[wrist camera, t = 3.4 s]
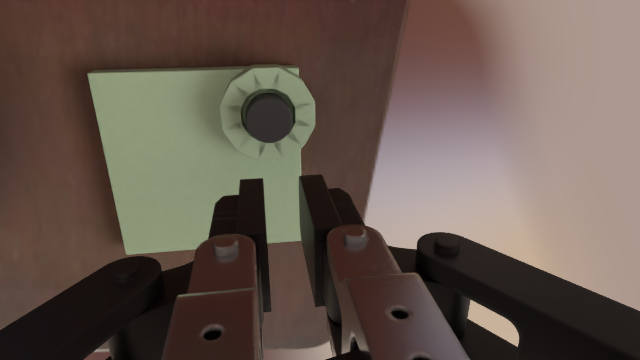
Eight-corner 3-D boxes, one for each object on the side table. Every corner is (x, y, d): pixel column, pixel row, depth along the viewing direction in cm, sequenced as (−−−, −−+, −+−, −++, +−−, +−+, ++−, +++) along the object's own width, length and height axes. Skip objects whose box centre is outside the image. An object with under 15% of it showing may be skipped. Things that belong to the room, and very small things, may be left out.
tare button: (289, 91, 24) (291, 96, 23) (290, 134, 25) (293, 142, 24) (244, 93, 24) (243, 98, 22) (247, 137, 25) (247, 144, 23)
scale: (308, 60, 26) (314, 66, 23) (311, 230, 31) (316, 252, 28) (93, 65, 24) (73, 72, 22) (131, 244, 29) (118, 269, 26)
